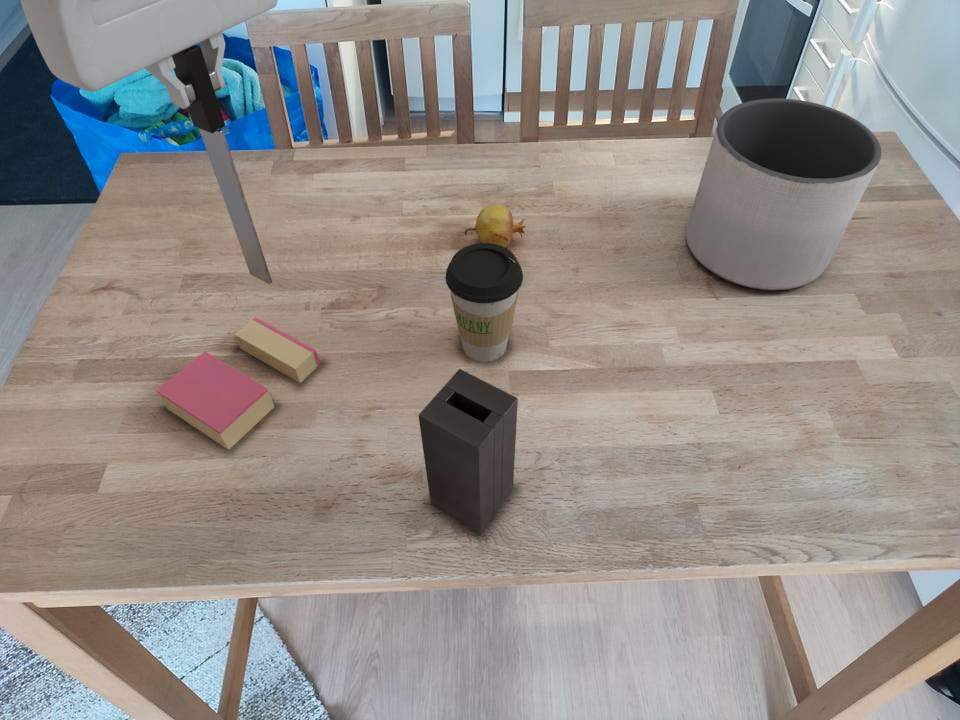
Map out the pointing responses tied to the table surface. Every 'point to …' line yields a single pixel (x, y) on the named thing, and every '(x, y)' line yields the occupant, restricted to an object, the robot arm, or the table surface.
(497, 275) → the coffee cup
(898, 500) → the table surface
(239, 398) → the cake
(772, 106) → the planter
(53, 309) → the table surface
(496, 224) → the fruit
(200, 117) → the knife
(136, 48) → the robot arm
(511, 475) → the knife block
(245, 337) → the cake slice
